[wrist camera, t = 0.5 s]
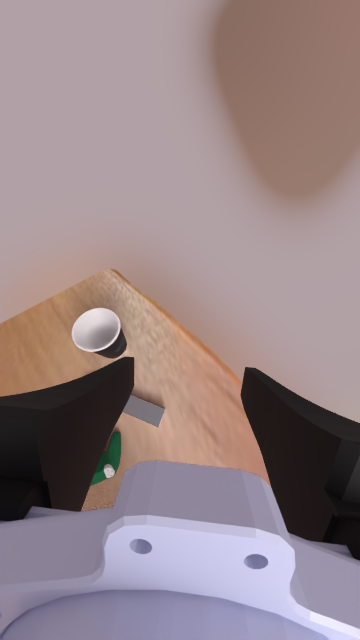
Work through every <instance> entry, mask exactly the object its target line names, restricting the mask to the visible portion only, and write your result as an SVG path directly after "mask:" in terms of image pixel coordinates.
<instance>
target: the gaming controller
mask: <svg viewBox="0 0 360 640" xmlns="http://www.w3.org/2000/svg"><path fill="white" fill-rule="evenodd" d="M120 456H121V434H120V432H114V433H113V435H112V437H111V439H110V442H109V447H108V451H107V452H104V453H102V456H101V458H100V461H99V463H98V466H97V469H96V471H95V474H94V476H93V479H92V482H91V484H90V486H91V485H93V484H96V483H98V482H101V481H103V480H105V479H108V478H110V477H112V476H114V475H115V474H116V471H117V469H118V466H119V462H120Z"/></svg>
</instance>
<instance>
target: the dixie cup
mask: <svg viewBox="0 0 360 640" xmlns="http://www.w3.org/2000/svg"><path fill="white" fill-rule="evenodd" d="M72 339H73V342H74V343H75V345H76V346H77V347H78V348H80V349H82V350H84V351H89V352H94V353H97V354H99V355H102V356H104V357H107V358H118V357H120V356H122V355H123V354H124V352H125V351H126V347H127V343H126V339H125V337H124V334H123V332H122V329H121V325H120V320H119V318H118V316H117V315H116V314H115V313H114V312H113V311H111V310H109V309H106V308H94V309H91V310H88V311H86V312H85V313H83V314H82V315H81V316H80V317H79V318H78V319H77V320H76V321H75V323H74V325H73V328H72Z"/></svg>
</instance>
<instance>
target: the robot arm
mask: <svg viewBox="0 0 360 640" xmlns="http://www.w3.org/2000/svg"><path fill="white" fill-rule="evenodd" d="M133 387H134V357H123V358H121V359H119V360H117V361H115V362H113V363H111V364H109V365H107V366H105V367H103V368H101V369H99V370H97V371H95V372H92V373H90V374H88V375H86V376H83V377H81V378H78V379H75V380H72V381H70V382H67V383H63V384H60V385H56V386H53V387H49V388H45V389H41V390H37V391H32V392H27V393H22V394H16V395H10V396H3V397H0V640H360V423H358V422H355V421H352V420H350V419H347V418H345V417H342V416H340V415H338V414H336V413H333V412H331V411H329V410H326V409H324V408H322V407H320V406H318V405H316V404H314V403H312V402H310V401H308V400H306V399H304V398H302V397H301V396H299V395H297V394H296V393H294V392H292V391H291V390H289V389H287V388H285V387H284V386H282V385H281V384H279V383H278V382H276V381H275V380H273V379H272V378H270V377H269V376H267V375H266V374H264V373H263V372H261V371H260V370H258V369H256V368H249V367H245V372H244V378H243V384H242V389H241V399H242V403H243V407H244V410H245V413H246V415H247V418H248V420H249V423H250V425H251V428H252V430H253V433H254V435H255V438H256V440H257V442H258V445H259V448H260V450H261V453H262V456H263V460H264V463H265V466H266V470H267V473H268V477H269V480H270V484H271V487H272V488H271V487H270V486H269V485H268V484H267V483H266V482H265V481H264V480H263V479H262V478H261V477H260V476H258V475H255V474H252V473H249V472H246V471H243V470H240V469H232V468H223V467H214V466H205V465H196V464H187V463H178V462H169V461H160V460H156V461H145V462H140V463H138V464H136V465H135V466H133V467H132V468H130V469H129V470H127V471H126V472H125V474H124V477H123V479H122V482H121V485H120V488H119V491H118V494H117V497H116V500H115V503H114V506H113V507H109V508H102V509H95V510H88V511H81V509H82V506H83V504H84V501H85V498H86V495H87V493H88V490H89V487H90V484H91V482H92V479H93V476H94V474H95V471H96V469H97V466H98V463H99V461H100V458H101V456H102V453H103V451H104V448H105V446H106V444H107V441H108V439H109V437H110V434H111V432H112V430H113V428H114V426H115V425H116V423H117V421H118V419H119V417H120V415H121V413H122V411H123V410H124V408H125V406H126V404H127V402H128V400H129V398H130V395H131V393H132V390H133Z"/></svg>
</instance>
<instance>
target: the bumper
mask: <svg viewBox="0 0 360 640" xmlns="http://www.w3.org/2000/svg"><path fill="white" fill-rule="evenodd" d="M122 412H124V413H127V414H129V415H131V416H134V417H136V418H138V419H141V420H143V421H145V422H147V423H150V424H152V425H154V426H157V427H159V426H160V423H161V420H162V417H163V415H164V412H165V409H164V408H161V407H159V406H157V405H154V404H152V403H149V402H147V401H145V400H142V399H140V398H137V397H135V396H133V395H130V398H129V400H128V402H127V404H126V406H125V408H124V410H123V411H122Z"/></svg>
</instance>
